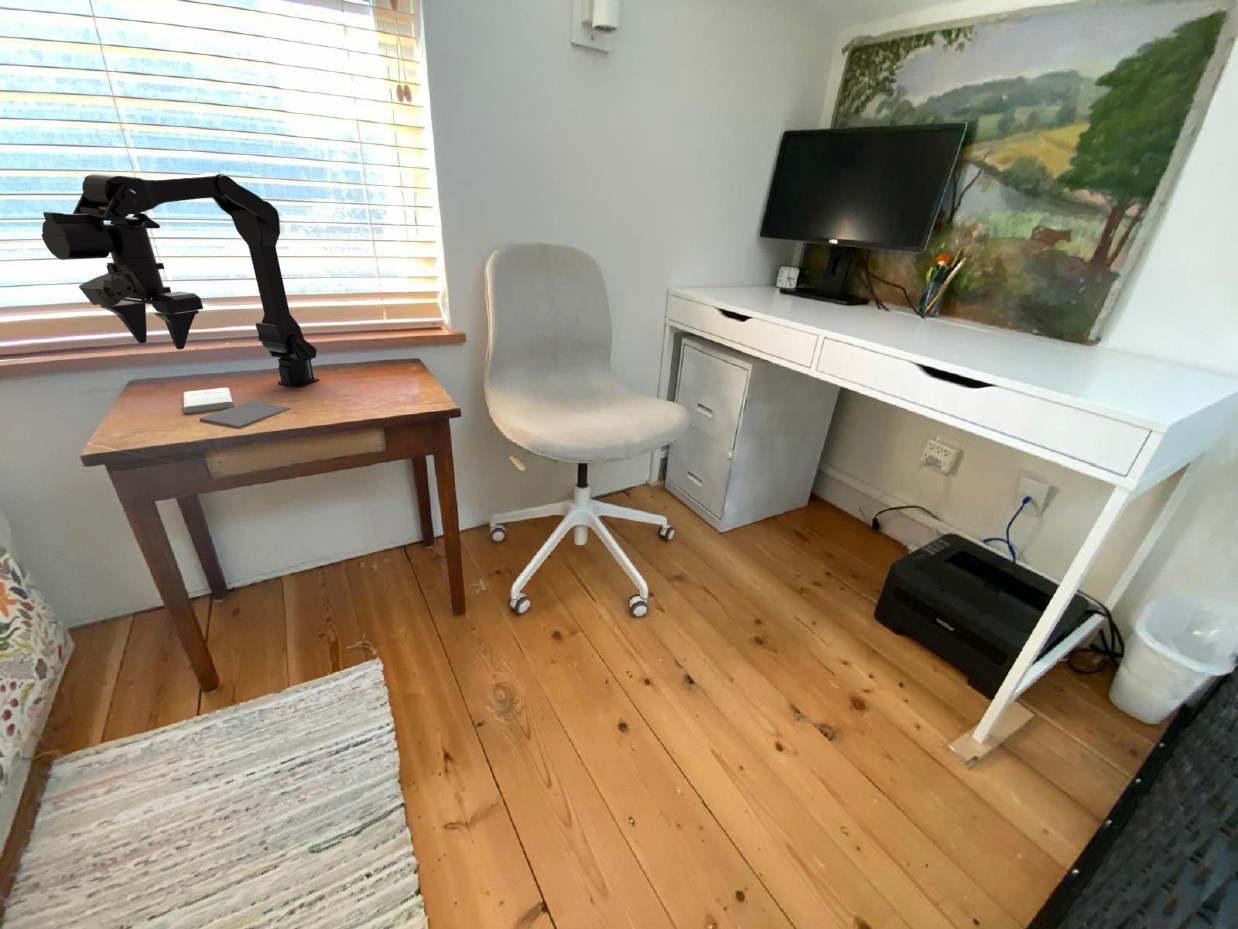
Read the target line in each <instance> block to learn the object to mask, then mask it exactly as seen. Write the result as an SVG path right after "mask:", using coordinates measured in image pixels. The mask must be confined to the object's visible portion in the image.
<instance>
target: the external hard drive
mask: <svg viewBox="0 0 1238 929" xmlns="http://www.w3.org/2000/svg"><path fill="white" fill-rule="evenodd" d="M232 407H235V406H234V403H233V400H232V395H231V392H230V388H229V387H219V388H218V387H217V388H211V389H210V388H209V389H201V390H191V391H190V390H189V391H185V392H183V410H184V413H185V414H190V415H191V414H198V413H206V412H211V411H219V410H226V409H229V408H232Z"/></svg>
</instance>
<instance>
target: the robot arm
mask: <svg viewBox="0 0 1238 929" xmlns="http://www.w3.org/2000/svg"><path fill="white" fill-rule="evenodd" d="M81 188H82V189H81V190H82V193H81V195H80V198H79V200H78V202H77V204H76V206H75V208H74V210H73V212H72V213H63V212H55V211H53V212H52V211H44V212H42V213H43V214H42V215H43V217H44V222H43V223H42V228H41V231H42V232H41V238H42V241H43V243H44V245H45V246H46V247H47V248H46V249H48V251H49V252H50V253H51V254H52V255H53V256H54V257H56V258H57V259H59V260H62V261H64V260H65V261H69V260H86V259H89V260H90V259H91V260H92V259H105V258H108V257H109V255H110V256H111V259H112V262H107V265H106V270H107V273H105V274H103V275H102V274H101V275H99V276H97V277H94V278H92V279H90V280H88V281H85V282H84V283H82V284H80V285H79V286H78V288H79V289H80V291H81V292H82V294H84V296H85V297H86V298H87V299H88V301H89V302H90V303H91V304H92V306H93V305H94V306H98V305H99V307H100V308H102V309H105V310H107V311H108V312H111V313H113V314H115V315H116V316H117V317H118V318H119V319H120V321H121V322H122V323H123V324H124V325H125V327H126V328H127V329H128V331H129V333H130V334H131V335H132V336H133V337H134V339H135V340H136V341H137V343H138V344H145V343H147V338H148V337H147V332H148V331H147V311H146V310H147V307H146V306H147V305H151V306H152V308H154V310H155V311H156V312H154V313H153V314H154V315H155V316H156V317H158V318H159V319H161V320H162V321H163V322H164V323H165V325H166V328H167V330H168V333H169V335H170V338H171V340H172V342H173V345H174V347H175V348H176V350H183V349H185V346H186V344H187V339H188V337H189V334H190V329H191V326H192V324H193V322H194V319H195V316H196V315H197V314H200V311H199V310H204V305H203V302H202V298H201V297H200V296H199V295H197V294H196V293H193V292H185V291H173V292H172V290H171V287H170V286H167V285H166V286H164V284H163V280H162V277H161V272H160V270H165V265H164V263H163V262H157V260H156V257H155V253H154V250H153V246H152V243H151V239H150V235H149V233H148V229H160V228H161V225H160V224H159V223H157V221H155V220H153V219H151V218H150V217H149V216H148V215H147V214H146V213H145V212H147V211H150V210H151V211H152V210H154V209H156V207H158V206H160V205H162V204H166V203H174V202H180V201H190V200H197V199H199V200H200V199H208V198H209V199H211V198H212V199H213V200H214V202H215V203H216V205H217V206H218V207H219V208H220V209H221V210H222V211H223V212H224V213H226V214H228V215H229V216H230V217H231V219H232V222H233V224H234V227H235V229H236V232H237V233H238V234H239V236H240V237H241V238H242V239H243V241H244V243H246V245H247V247H248V250H249V255H250V259H251V263H252V266H253V268H252V269H253V270H254V271H253V272H254V276H255V280H256V283H257V288H258V293H259V297H260V300H261V305H262V306H261V307H262V311H263V317H262V320H261V322H255V328H256V330H257V333H258V341H259V342H261V343H262V346H263V347H264V348H265V349H267V350H268V353H270V355H271V357H272V358H278V359H277V361H278V372H279V376H280V380H278V381H277V384H278V385H284V386H290V387H294V388H295V387H296V388H301V387H305V386H307V385H310V384H313V383H317V382H319V381H320V378H317V377H314V375H315V374H314V371H313V366H312V359H316V358H317V349H318V348H316V347H315V346H313V345H312V344H311V343H310V342H308V341H307V340H306V339H305V337H304V335H303V332H302V329H301V326H300V325H299V324H298V322H297V321H296V319H295V318H294V317H293V316H292V314H291V312H290V307H289V304H288V299H287V298H288V297H287V293H286V290H285V284H284V279H283V275H282V270H281V266H280V262H279V257H278V252H277V247H276V246H277V243H278V241H279V238H280V235H281V224H280V215H279V213H278V212H279V211H278V209H277V208H276V207H275V206H273V205H272V203H271V202H268V201H267V200H263V199H262V198H261V197H260V196H258V195H257V194H255V193H253V192H252V191H250V190H248V189H247V188H245V187H243V186H241V185H240V184H239V183H237V182H236V181H234V180H233V179H232V178H231V177H229V176H228V175H226V174H224V173H214V172H204V173H202V174H194V175H181V176H180V175H179V176H166V177H165V176H164V177H155V178H154V177H153V178H152V177H151V178H145V177H144V178H142V177H135V176H126V175H125V176H124V175H114V174H113V175H112V174H101V173H99V174H98V173H94V174H93V173H92V174H88V175H87V176H85V177H84V179H83V182H82V187H81ZM130 215H132V216H131V217H129V216H130ZM104 221H106V222H110V223H105V222H104ZM146 304H147V305H146Z"/></svg>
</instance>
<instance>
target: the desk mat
mask: <svg viewBox="0 0 1238 929" xmlns="http://www.w3.org/2000/svg"><path fill="white" fill-rule="evenodd" d="M289 410H291V407H287V406H283V405H276V404H274V403H273V404H272V403H268V402H266V403H265V402H262V401H256V400H252V401H248V402H245V403H242V404H238V405H236V406H234V407H232V408H227V409H222V410H221V411H217V412H213V413H210V414H208V415H204V416H201V417H199V421H200V422H203V423H207V424H213V425H220V426H224V427H229V428H233V429H234V428H235V429H239V430H241V429H242V428H245V427H248V426H251V425H253V424H255V423H259V422H261V421H264V420H266V419H268V418H271V417H274V416H276V415H278V414H281V413H283V411H284V412H285V411H289Z"/></svg>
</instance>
